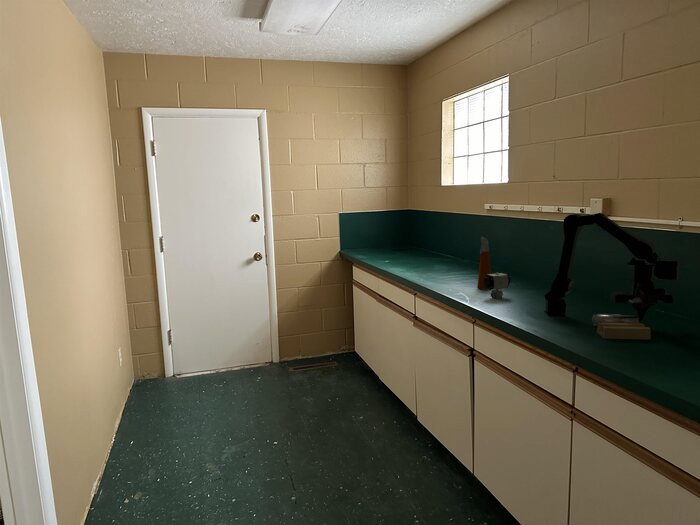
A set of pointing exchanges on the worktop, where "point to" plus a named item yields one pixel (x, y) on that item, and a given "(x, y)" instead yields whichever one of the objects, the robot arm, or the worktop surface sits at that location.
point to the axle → (613, 318)
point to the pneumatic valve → (497, 283)
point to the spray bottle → (484, 263)
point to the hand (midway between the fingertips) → (639, 320)
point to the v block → (623, 331)
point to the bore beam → (614, 320)
